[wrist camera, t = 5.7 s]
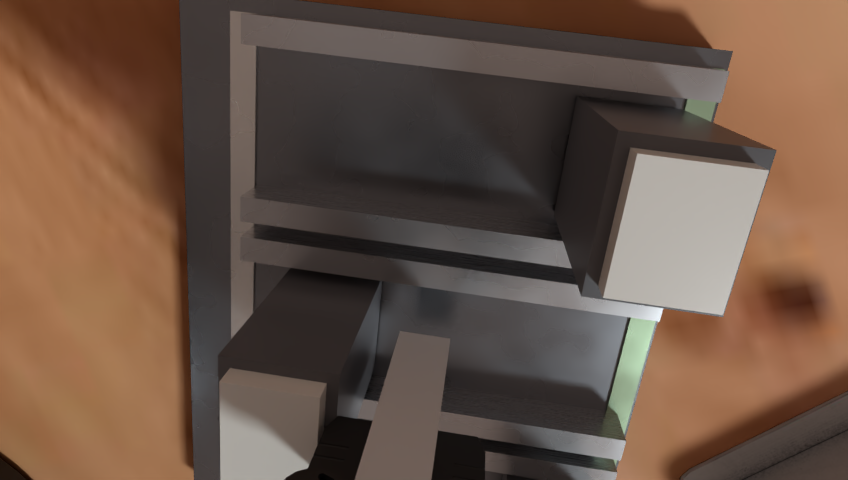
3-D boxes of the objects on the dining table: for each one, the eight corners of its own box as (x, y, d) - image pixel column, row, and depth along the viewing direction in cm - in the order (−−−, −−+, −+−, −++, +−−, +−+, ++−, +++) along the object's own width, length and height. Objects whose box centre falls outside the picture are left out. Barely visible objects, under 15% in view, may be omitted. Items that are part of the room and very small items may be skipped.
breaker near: (554, 214, 18) (585, 308, 12) (576, 96, 17) (624, 135, 11) (651, 227, 18) (734, 330, 12) (682, 109, 17) (791, 156, 11)
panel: (211, 484, 26) (177, 540, 23) (201, -11, 19) (151, -18, 16) (580, 547, 25) (591, 614, 22) (713, 49, 18) (755, 53, 15)
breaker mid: (291, 355, 21) (209, 490, 15) (295, 262, 20) (206, 368, 14) (374, 368, 21) (325, 510, 15) (383, 275, 20) (333, 388, 14)
